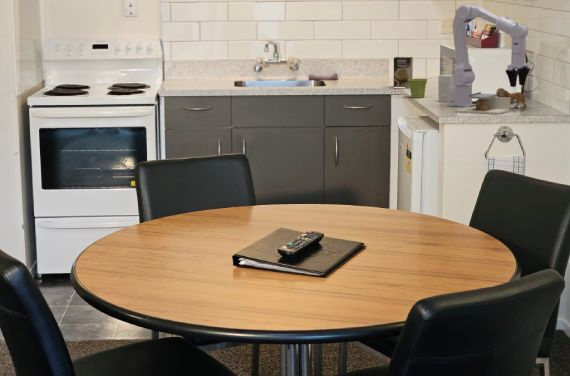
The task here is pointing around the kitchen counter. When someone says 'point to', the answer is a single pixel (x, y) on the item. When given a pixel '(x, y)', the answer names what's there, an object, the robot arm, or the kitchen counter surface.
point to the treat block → (482, 105)
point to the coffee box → (402, 71)
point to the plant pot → (417, 87)
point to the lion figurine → (512, 96)
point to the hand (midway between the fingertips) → (517, 85)
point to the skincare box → (444, 87)
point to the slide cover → (482, 96)
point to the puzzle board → (491, 106)
